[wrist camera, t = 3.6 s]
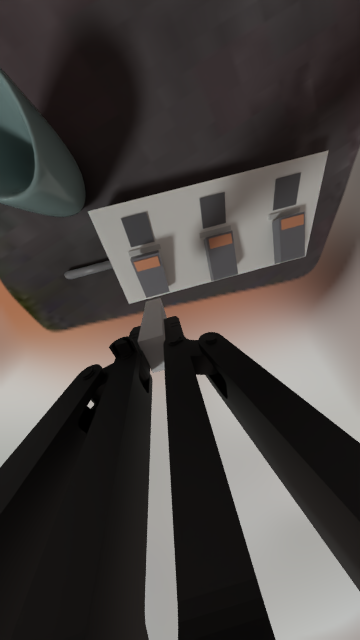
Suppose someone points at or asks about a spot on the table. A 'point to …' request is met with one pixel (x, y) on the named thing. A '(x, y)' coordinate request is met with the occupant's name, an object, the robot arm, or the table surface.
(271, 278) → the table surface
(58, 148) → the cup
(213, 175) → the table surface
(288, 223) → the rocker
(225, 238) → the rocker
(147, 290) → the rocker
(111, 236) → the power strip
